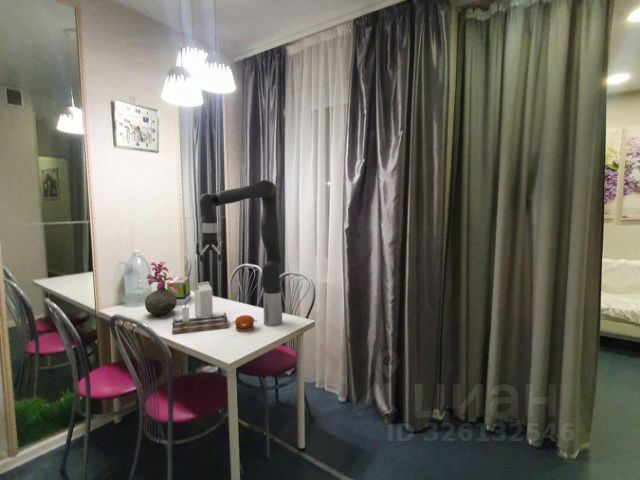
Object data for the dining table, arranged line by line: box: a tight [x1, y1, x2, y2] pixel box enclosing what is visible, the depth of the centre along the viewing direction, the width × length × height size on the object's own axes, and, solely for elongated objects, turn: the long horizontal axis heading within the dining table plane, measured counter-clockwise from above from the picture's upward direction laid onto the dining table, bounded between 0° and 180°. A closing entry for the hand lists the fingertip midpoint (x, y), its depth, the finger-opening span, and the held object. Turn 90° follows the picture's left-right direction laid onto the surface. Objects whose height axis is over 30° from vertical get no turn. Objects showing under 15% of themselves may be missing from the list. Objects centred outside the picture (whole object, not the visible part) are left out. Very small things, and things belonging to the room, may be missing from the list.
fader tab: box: [181, 304, 190, 322], centre depth 168 cm, size 3×4×9 cm, turn 21°
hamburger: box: [232, 314, 257, 333], centre depth 167 cm, size 9×10×7 cm
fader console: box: [171, 312, 229, 335], centre depth 170 cm, size 26×14×4 cm, turn 111°
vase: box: [144, 261, 178, 317], centre depth 186 cm, size 17×17×30 cm
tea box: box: [166, 276, 192, 306], centre depth 211 cm, size 15×10×15 cm
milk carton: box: [193, 281, 214, 317], centre depth 186 cm, size 7×7×19 cm
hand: (210, 261), depth 177 cm, fingers open, 8 cm apart
